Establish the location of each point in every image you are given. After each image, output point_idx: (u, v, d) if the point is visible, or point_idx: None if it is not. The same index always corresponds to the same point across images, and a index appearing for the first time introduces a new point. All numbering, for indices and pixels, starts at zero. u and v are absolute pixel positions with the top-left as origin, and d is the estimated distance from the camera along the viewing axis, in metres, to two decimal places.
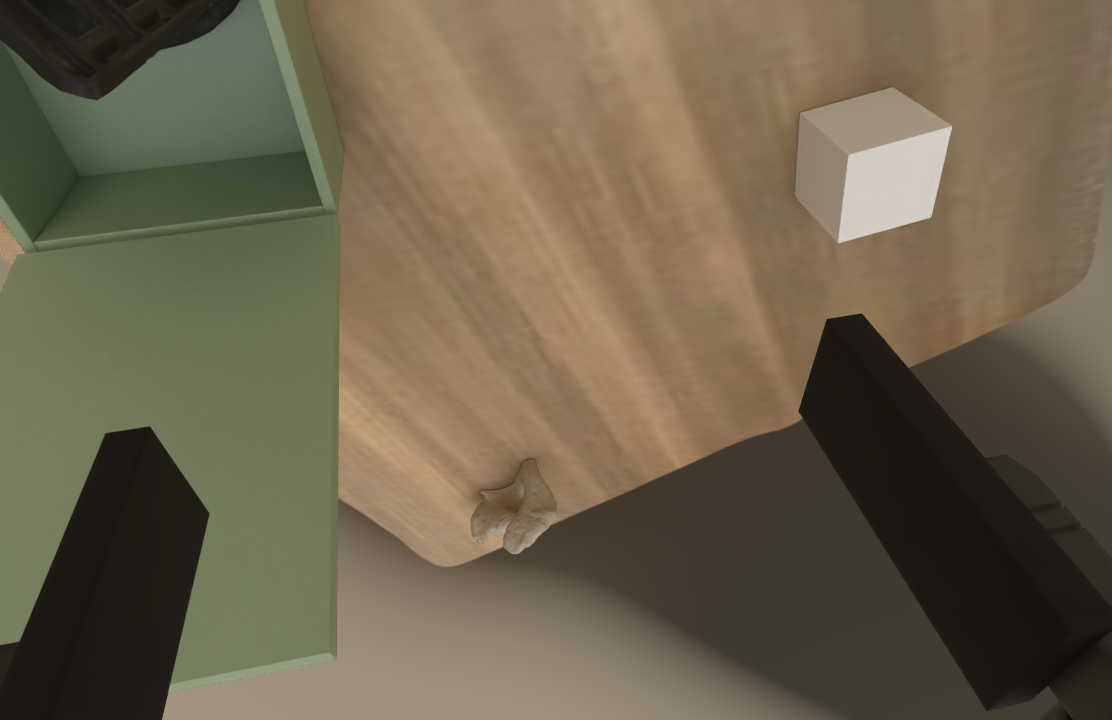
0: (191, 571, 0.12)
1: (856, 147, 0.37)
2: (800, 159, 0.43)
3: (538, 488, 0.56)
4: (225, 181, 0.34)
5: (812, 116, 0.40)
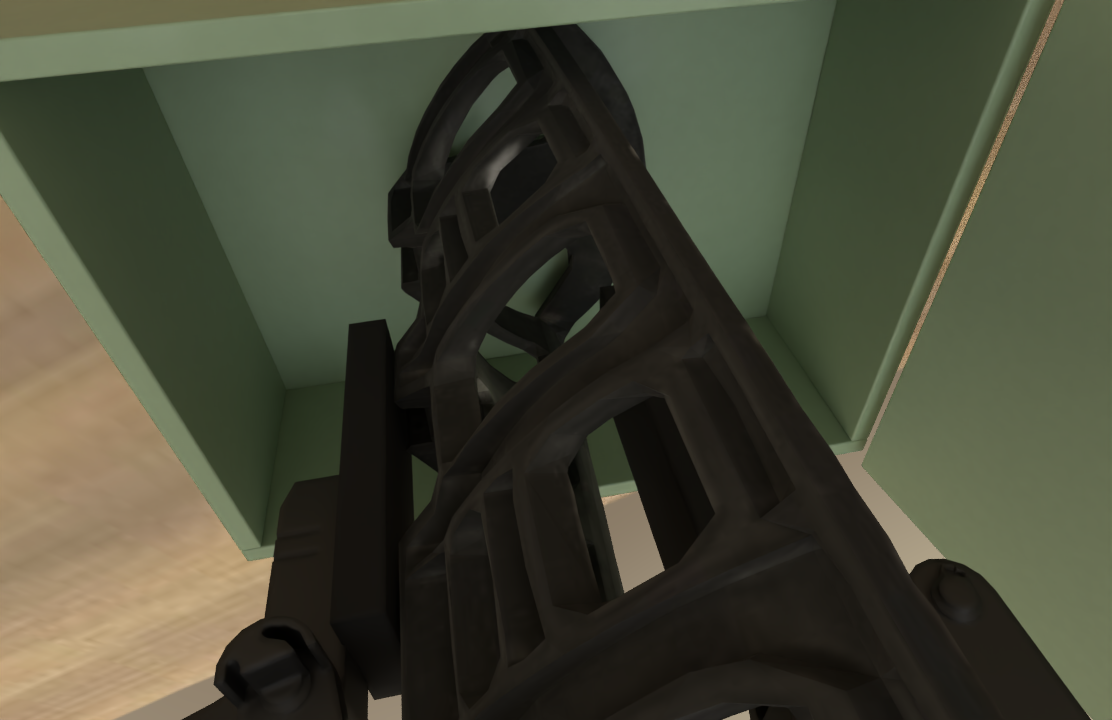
0: None
1: None
2: None
3: None
4: (854, 152, 0.18)
5: None
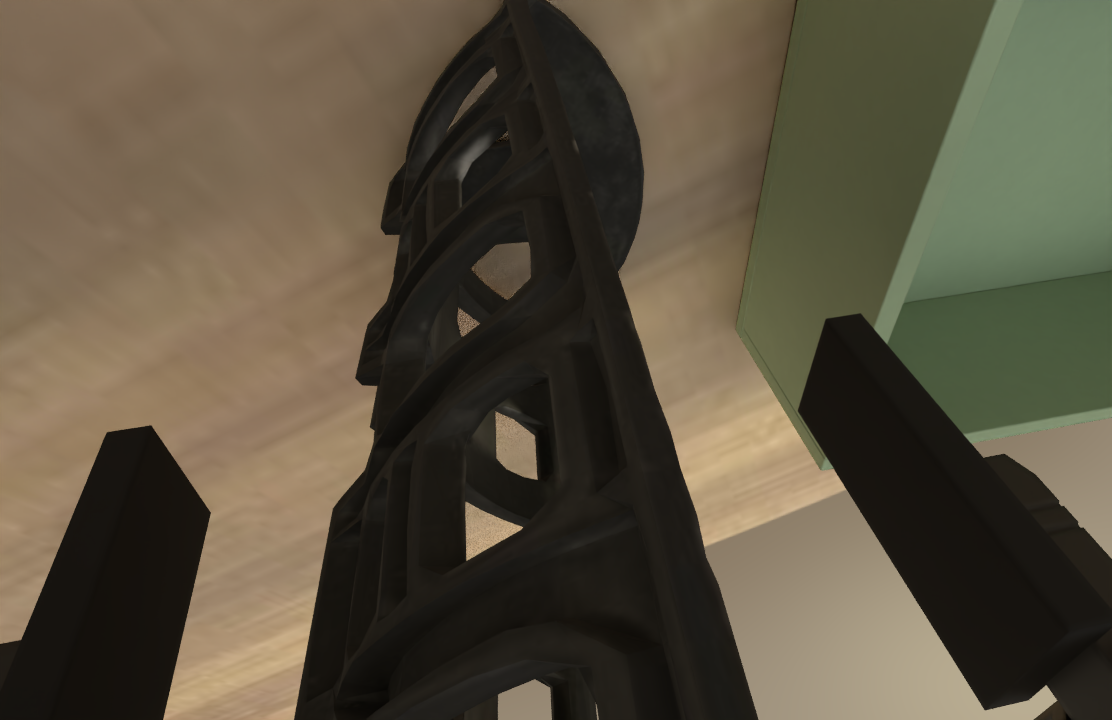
0: (192, 570, 0.12)
1: None
2: None
3: None
4: None
5: None
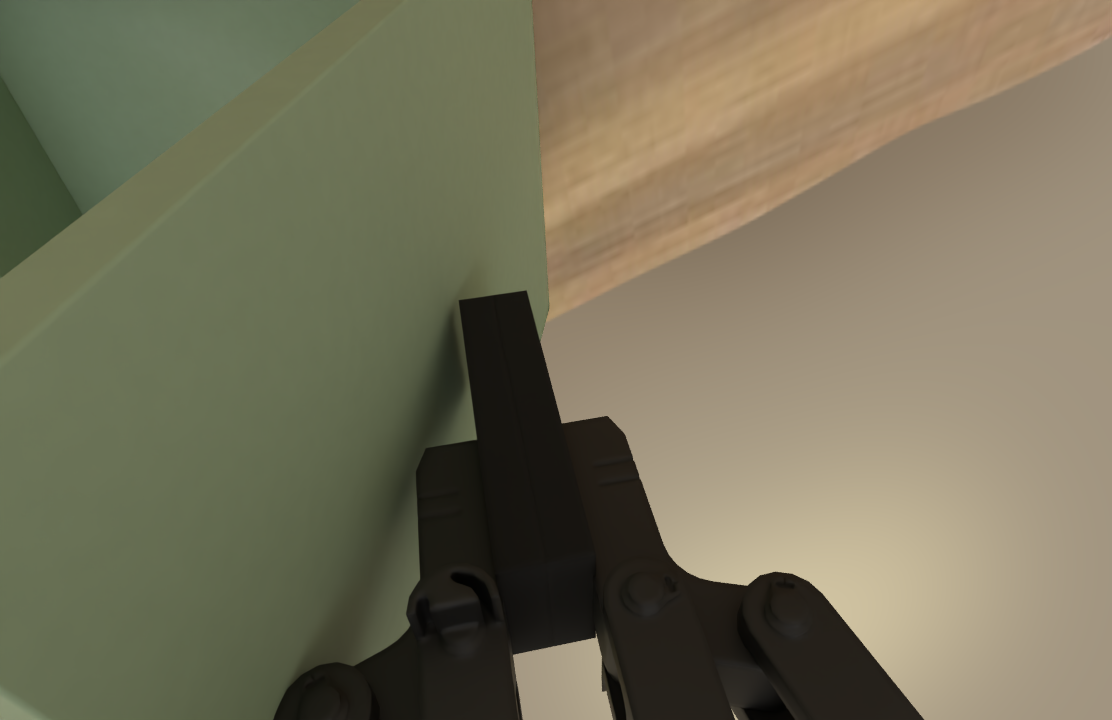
0: None
1: None
2: None
3: None
4: None
5: None
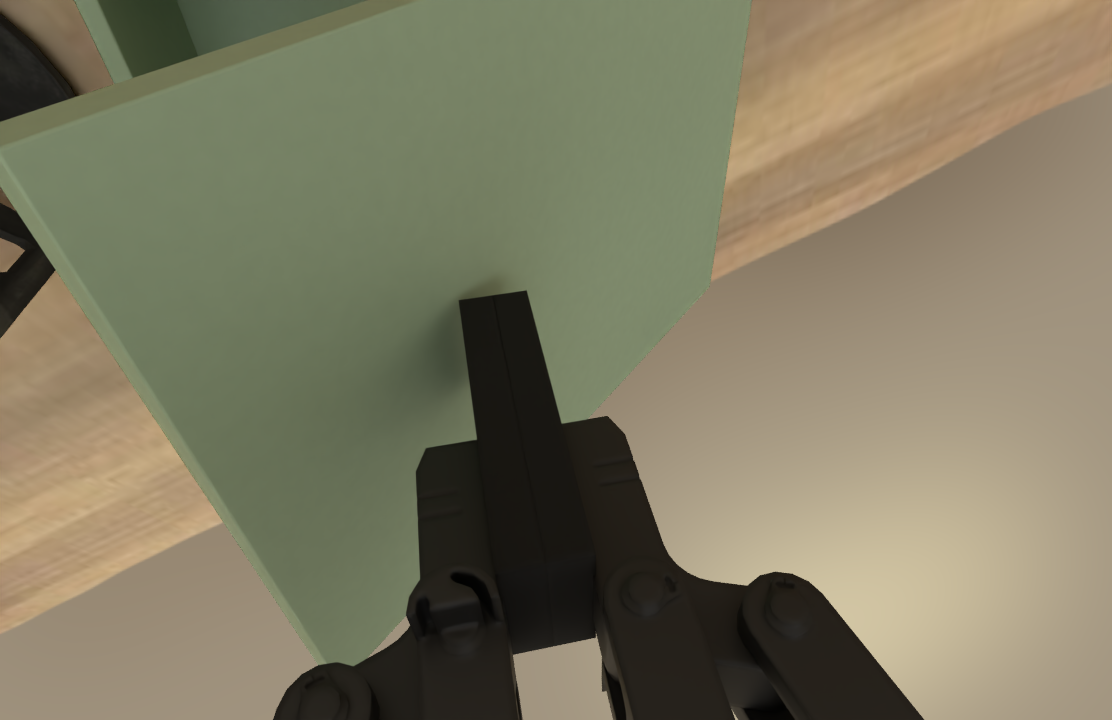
0: None
1: None
2: None
3: None
4: None
5: None
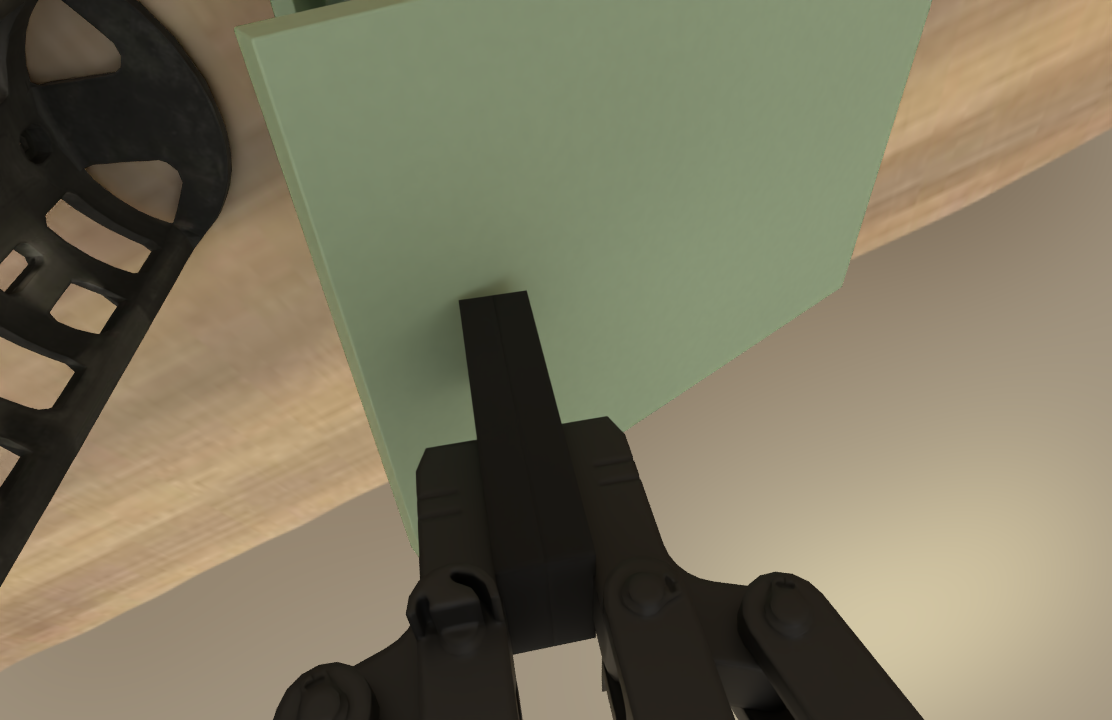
0: None
1: None
2: None
3: None
4: None
5: None
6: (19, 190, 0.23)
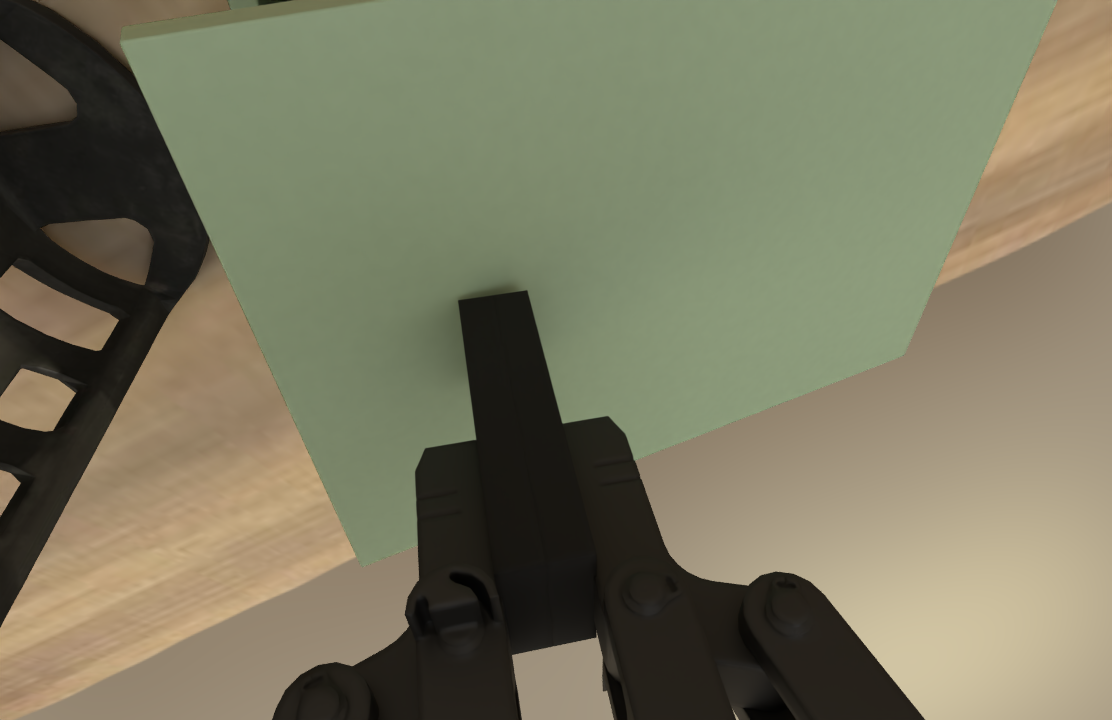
0: None
1: None
2: None
3: None
4: None
5: None
6: None
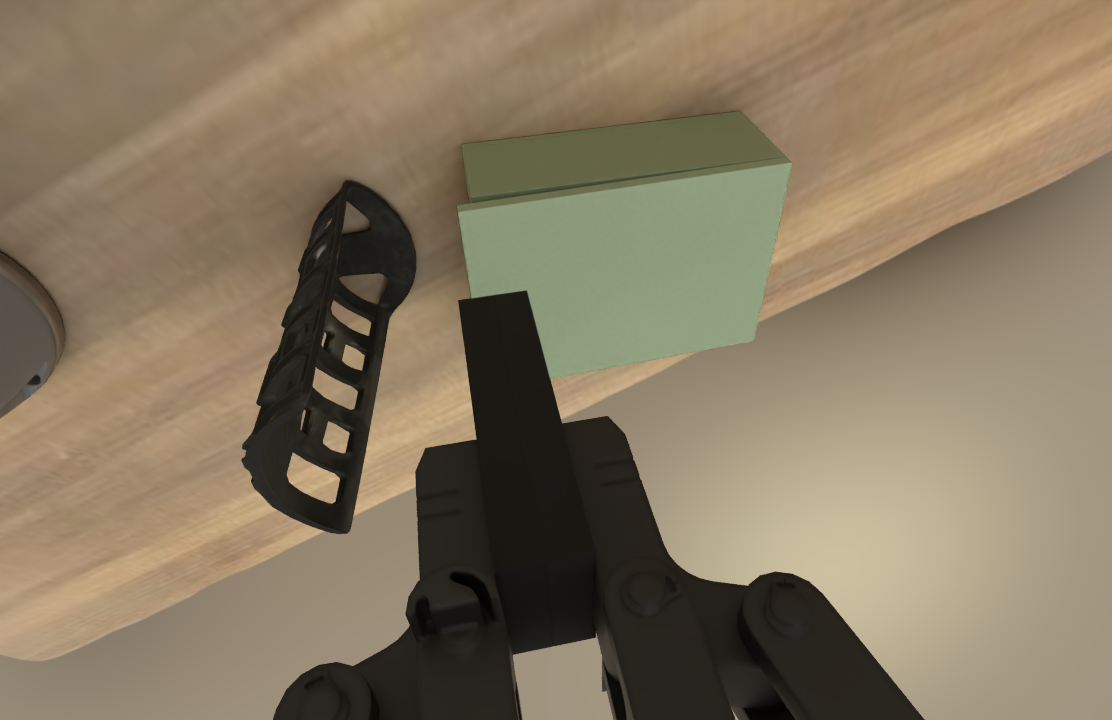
0: None
1: None
2: None
3: None
4: None
5: None
6: None
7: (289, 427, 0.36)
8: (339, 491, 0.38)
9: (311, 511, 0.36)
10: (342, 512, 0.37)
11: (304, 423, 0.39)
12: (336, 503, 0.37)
